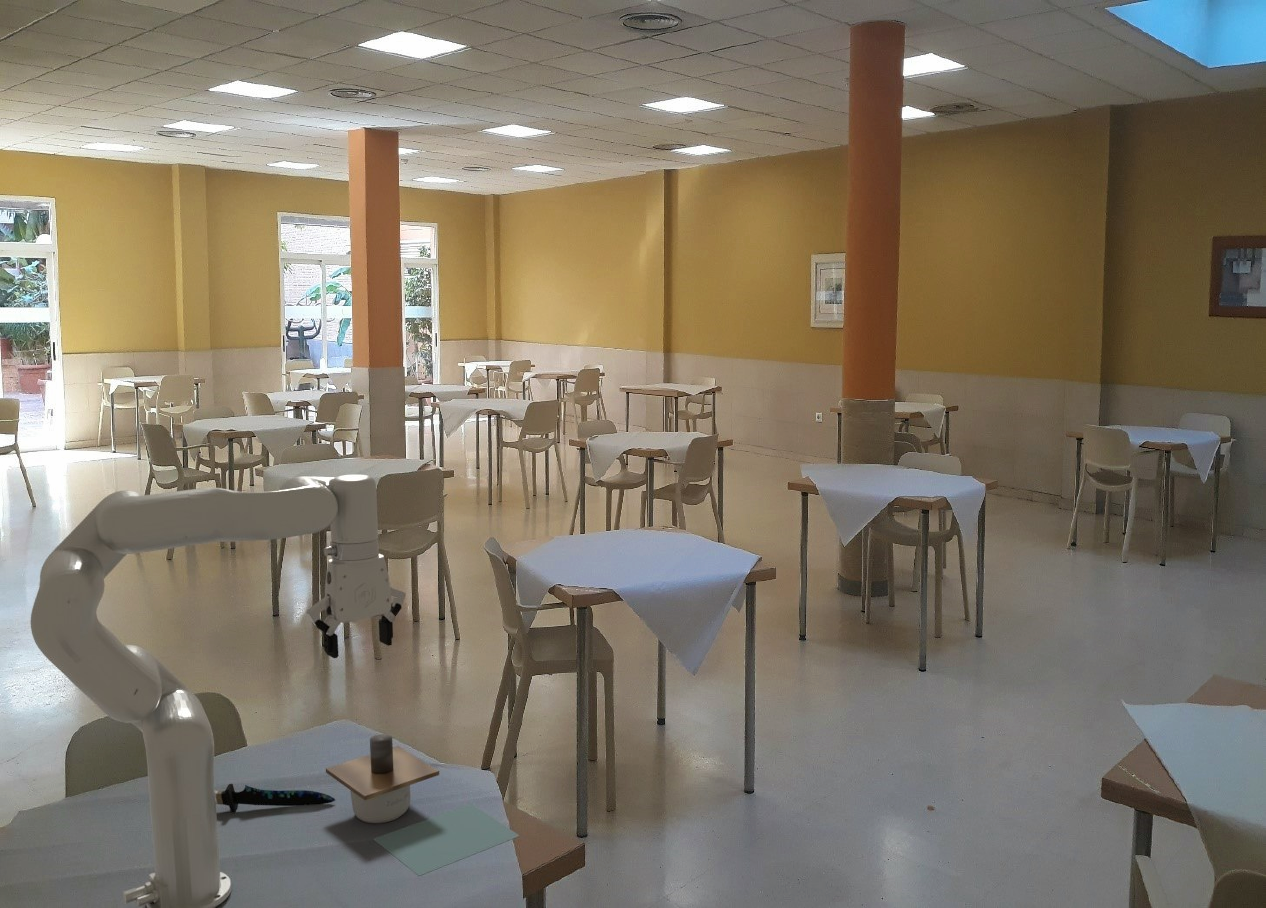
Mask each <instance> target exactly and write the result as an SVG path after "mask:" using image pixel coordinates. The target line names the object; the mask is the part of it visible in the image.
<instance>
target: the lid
mask: <svg viewBox="0 0 1266 908" xmlns="http://www.w3.org/2000/svg"><path fill="white" fill-rule="evenodd" d="M369 752H370V753H369V754H366V755H364V756H361V757H358V758H357V757H356V758H355V759H351V760H348V761H344V762H342V763H338V764H336V765H333V766H332V765H331V766H329V767H326V768H325V773H326V774H328V776H330V777H331V778H333V779H335V780H336V781H337V782H339V784H341V785H342V786H344V787H345V788H346V789H348V790H349V791H350V790H351V791H352V792H354V793H355V794H357V795H358V796H359V797H361V798H362V799H363V800H368V799H371V798H374V797H377V796H379V795H382V794H385V793H388V792H391V791H394V790H397V789H400V788H403V787H406V786H409V785H410V786H411V785H414V784H417V783H419V782H423V781H425V780H428V779H431V778H434V777H436V776H440V770H439V769H437V768H436V767H434V766H432V765H431V764H429V763H428V762H425V761H424V760H422V759H421V758H419V757H417V756H415V754H413V753H411V752H409V751H408V750H406V749H404V748H402V747H401V746H400V745H396V746H393V736H392V735H391V734H387V733H386V734H385V733H380V734H376V735H375V734H374V735H373V736H370V738H369Z"/></svg>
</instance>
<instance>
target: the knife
mask: <svg viewBox="0 0 1266 908" xmlns="http://www.w3.org/2000/svg"><path fill="white" fill-rule="evenodd" d="M215 800H216V805H224V806H228V807H229V810H230V812H231V813H232V814H233V813H236V810H237V809H238V807H239V805H248V806H249V805H250V806H269V807H270V806H274V807H275V806H277V807H280V806H281V807H292V806H293V807H297V806H300V807H301V806H315V805H317V806H318V805H324V804H330V803H333V802H335V801H336V799H335V798H334V797H333V796H331V795H329V794H325V793H323V792H319V791H314V790H305V789H304V790H303V789H302V790H301V789H300V790H299V789H298V790H297V789H295V790H293V789H292V790H289V789H288V790H275V789H273V790H272V789H270V790H269V789H260V788H256V787H251V786H249V785H247V784H246V785H244V788H243V790H241V791H235V787H234V784H233V783H229V784H228V785H227V786H226V788H225V790H224V791H221V790H215Z"/></svg>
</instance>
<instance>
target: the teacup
mask: <svg viewBox="0 0 1266 908" xmlns="http://www.w3.org/2000/svg"><path fill="white" fill-rule="evenodd" d="M349 791H350V798H351V799H350V801H351V806H352V810H353V812H354V815H355V816H356V817H357V818H358V819H359V820H360V821H363V822H364V823H367V824H383V823H388V822H393V821H394V820H397V819H398V818H400V817H401V816H403V815H404V813H406V812H407V810H408V808H409V807H410V804H411V785H409V786H406V787H403V788H400V789H397V790H394V791H391V792H388V793H385V794H382V795H379V796H377V797H374V798H371V799H368V800H363V799H362V798H361V797H359V796H358V795H357V794H355V793H354V792H352V791H351V790H350V789H349Z"/></svg>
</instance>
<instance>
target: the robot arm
mask: <svg viewBox="0 0 1266 908" xmlns="http://www.w3.org/2000/svg"><path fill="white" fill-rule="evenodd" d="M376 483H377V482H376V481H375V479H374V477H372V476H370V475H366V474H354V473H353V474H345V475H344V474H343V475H339V476H336V477H335V476H334V477H333V476H332V477H331V476H330V477H329V476H328V477H327V476H326V477H325V476H306V475H305V476H304V475H303V476H295V477H292V478H290V479H287V480H286V481H285V482H284V483H283V484H282V485H281V486H280V487H279V489H278V490H273V491H256V492H253V491H252V492H250V491H239V490H238V491H237V490H232V489H227V488H221V487H210V486H209V487H208V486H207V487H201V488H193V489H186V490H185V489H184V490H177V491H170V492H163V493H152V494H145V495H143V494H141V493H140V492H136V491H133V490H119V491H115V492H112V493H111V494H108V495H107V496H105V497H104V498H103V499H102V500H101V501H99V502H98V503H97V504H96V506H95V507H94V508H93V509H92V510H91V511H90V512H89V513H88V514H86V515H87V516H85V518H83V519H82V521H80V523H79V524H77V526H76V527H75V528H74V529H73V530H72V531H70V533H69V534H68V535H67V536H66V537H65V538H64V539H63V540H62V541H61V542H60V543H59V544H58V545H57V546H56V547H55V548H54V550H52V552H51V553H50V554H49V555H48V556H47V557H46V559H45V561H44V562H43V564H42V566H41V570H40V574H39V584H38V585H39V587H38V590H37V593H36V596H35V600H34V601H33V605H32V609H31V613H30V630H31V635H32V637H33V640H34V643H35V645H36V646H37V648H38V650H40V652H41V653H42V654H43V656H44V657H45V658H46V660H47V659H48V661H49V662H50V663H51V664H52V665H53V666H54V667H56V669H58V670H59V671H60V672H61V673H62V674H63V675H65V677H66V678H67V679H68V680H69V681H70V682H71V683H72V684H73V685H74V686H75V687H77V688H78V689H79V690H80V691H81V692H82V693H83V694H84V695H85V696H86V697H87V698H88V699H89V700H91V701H92V702H93V704H95V706H96V707H98V708H99V710H100V711H102V712H103V714H105V715H106V716H108V717H109V718H110V719H112V720H114V721H117V722H120V723H124V724H125V723H127V724H133V725H134V727H136V728H137V729H138V730H139V731H140V732H141V733H142V736H143V742H144V747H145V754H146V755H145V756H146V763H147V764H146V765H147V766H146V767H147V782H148V783H147V784H148V785H147V786H148V801H149V812H150V824H151V825H150V826H151V836H152V837H151V838H152V839H151V840H152V849H153V850H152V853H153V854H152V855H153V865H154V872H152V873H149V874H148V877H149V878H148V879H149V880H148V881H146V882H143V885H141V886H138V887H133V888H131V889H128V890H125V891H123V892H122V900H123V903H124V904H125V905H128V904H131V903H134V902H135V903H136V906H137V907H139V908H140V907H142V906H144V905H146V908H216V907H218V906H219V905H221V904H223V902H224V901H225V900H227V898H228V897H229V896H230V894H231V892H232V880H231V878H230V877H229V875H228V874H225V873H224V872H223V871H221V866H220V849H219V835H218V834H219V833H218V820H217V817H218V816H217V815H218V814H217V804H216V800H215V791H216V790H215V789H216V788H215V787H216V786H215V741H214V734H213V730H212V726H211V723H210V721H209V717H208V716H207V714H206V711H205V709H204V706H203V705H202V702H201V701H200V699H199V698H198V697H197V695H195V694H194V693H193V691H192V690H191V689H190V688H189V687H187V686H186V685H185V684H184V683H183V681H181V680H180V679H179V678H178V677H177V676H176V675H175V674H174V673H173V672H172V671H171V670H170V669H168V668H167V667H166V665H165V664H164V663H162V662H161V661H160V660H159V659H158V658H157V657H156V656H155V655H154V654H152V653H151V652H150V651H148V650H147V649H145V648H143V647H141V646H139V645H138V646H137V645H135V644H124V643H123V642H122V641H120V640H119V638H118V637H116V635H115V634H114V633H113V632H112V631H110V630H109V629H108V628H107V627H106V626H104V625H103V624H102V623H101V621H100V620H99V619H98V616H97V611H98V607H99V604H100V602H101V600H102V598H103V595H104V594H105V593H104V592H105V579H106V577H108V575H109V574H110V573H111V572H112V571H113V570H114V569H115V568H116V566H117V565H119V564H120V562H121V561H123V559H124V558H125V557H126V556H127V555H131V554H132V555H134V554H141V553H142V554H143V553H148V552H149V553H150V552H155V551H162V550H163V551H164V550H168V549H174V548H175V549H176V548H184V547H189V546H195V545H196V546H197V545H202V544H204V545H205V544H210V543H217V542H218V543H221V542H223V543H235V542H251V541H269V540H270V541H271V540H281V539H285V538H292V537H299V536H300V537H301V536H304V535H311V534H315V533H319V532H322V531H323V530H326V529H327V528H329V527H330V541H329V543H330V546H328V547H324V548H323V554H324V556H326V557H331V558H330V559H328V562H327V568H326V575H325V582H324V583H325V585H324V597H323V598H321V599H320V600H319V601H317V602H316V603H314V604H313V605H312V606H311V607H309V608H308V609H307V610H306V615H307V616H308V619H309V620H310V622H312V625H313V626H314V627H315V628H317V630H319V631H320V632H321V633H323V650H324V652H325V654H326V656H329V657H330V658H332V659H337V658H338V657H339V640H338V639H339V636H338V634H337V633H336V631H337V629H338V628H339V626H340V624H341V623H342V624H347V623H351V622H357V621H362V620H366V619H367V620H368V619H371V618H376V617H381V618H379V619H378V635H379V637H378V639H379V642H380V643H382V644H384V645H386V646H392V644H393V641H392V640H393V638H394V628H393V627H394V625H393V623H394V622H395V621H396V616H397V615H398V614H399V612H400V611H401V610H402V605H403V603H404V602H405V599H406V596H407V593H406V592H404V591H402V590H400V589H397V588H394V587H391V585H390V583H391V582H390V579H389V578H390V577H389V572H388V567H387V563H386V558H385V556H384V554H381V553H380V551H379V550H380V547H379V528H378V527H379V522H378V502H377V501H378V500H377V499H378V498H377V497H378V496H377V484H376ZM392 597H393V600H392ZM324 610H325V615H326V618H325V619H324V620H322V618H321V616H320V614H321V613H322V612H323V611H324Z"/></svg>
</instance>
